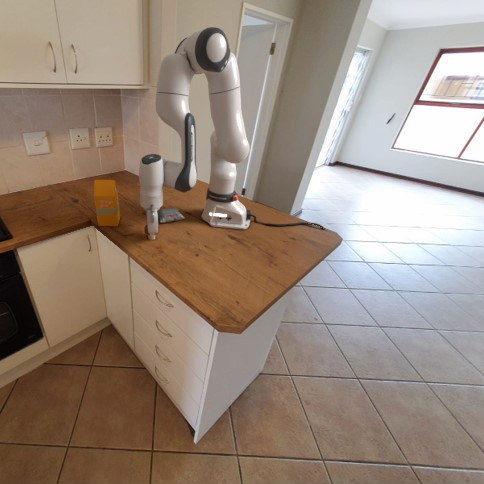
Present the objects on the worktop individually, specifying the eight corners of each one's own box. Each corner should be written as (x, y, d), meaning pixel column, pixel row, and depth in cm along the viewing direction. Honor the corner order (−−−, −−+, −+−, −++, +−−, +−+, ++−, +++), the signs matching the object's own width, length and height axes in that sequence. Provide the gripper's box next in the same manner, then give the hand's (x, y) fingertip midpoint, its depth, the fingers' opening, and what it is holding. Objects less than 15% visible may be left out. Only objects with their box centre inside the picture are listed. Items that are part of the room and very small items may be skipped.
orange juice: (117, 226, 111) (113, 183, 100) (97, 226, 111) (91, 182, 99) (120, 218, 117) (116, 176, 106) (101, 217, 117) (95, 176, 106)
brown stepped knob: (158, 233, 106) (158, 221, 103) (159, 241, 101) (159, 228, 98) (144, 234, 106) (144, 221, 103) (144, 242, 101) (144, 229, 98)
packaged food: (184, 222, 115) (185, 212, 112) (160, 226, 112) (160, 216, 109) (177, 214, 122) (178, 205, 119) (154, 217, 118) (154, 208, 116)
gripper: (162, 212, 86) (161, 245, 94) (157, 189, 103) (157, 219, 111) (143, 212, 85) (144, 246, 93) (142, 189, 102) (143, 219, 110)
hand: (151, 231), depth 102 cm, fingers closed on brown stepped knob, 6 cm apart
